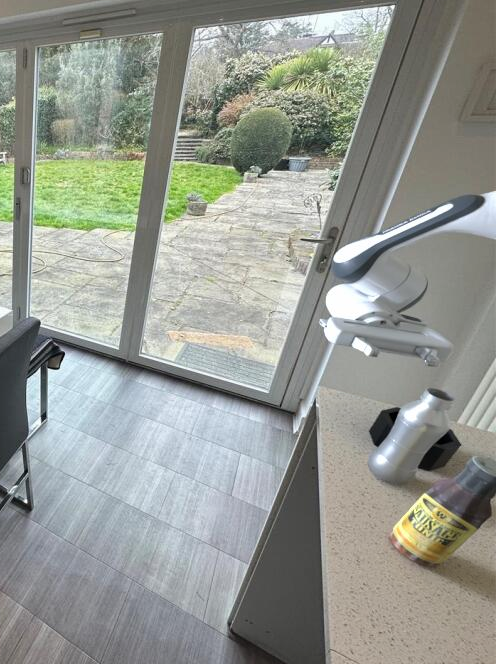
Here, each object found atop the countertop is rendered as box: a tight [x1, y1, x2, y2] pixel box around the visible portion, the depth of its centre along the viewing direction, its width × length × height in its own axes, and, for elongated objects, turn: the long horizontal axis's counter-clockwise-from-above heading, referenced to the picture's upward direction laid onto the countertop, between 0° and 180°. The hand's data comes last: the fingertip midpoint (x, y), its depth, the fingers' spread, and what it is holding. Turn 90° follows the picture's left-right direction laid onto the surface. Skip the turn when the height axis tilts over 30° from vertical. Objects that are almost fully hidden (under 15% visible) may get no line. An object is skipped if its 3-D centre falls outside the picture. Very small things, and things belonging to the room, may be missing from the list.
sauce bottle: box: [389, 455, 496, 567], centre depth 61 cm, size 6×6×20 cm
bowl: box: [368, 406, 462, 472], centre depth 84 cm, size 11×11×6 cm
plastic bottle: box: [367, 387, 456, 486], centre depth 74 cm, size 6×7×20 cm
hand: (403, 358), depth 80 cm, fingers open, 8 cm apart
